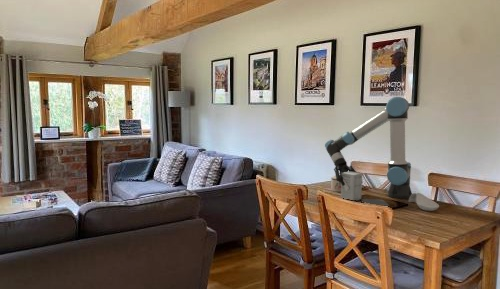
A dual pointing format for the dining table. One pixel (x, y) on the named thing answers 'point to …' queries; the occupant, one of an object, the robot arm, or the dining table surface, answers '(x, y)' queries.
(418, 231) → the dining table surface
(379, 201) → the charcoal mat
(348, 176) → the supplement box
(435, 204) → the spoon rest
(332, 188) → the teacup with lid
